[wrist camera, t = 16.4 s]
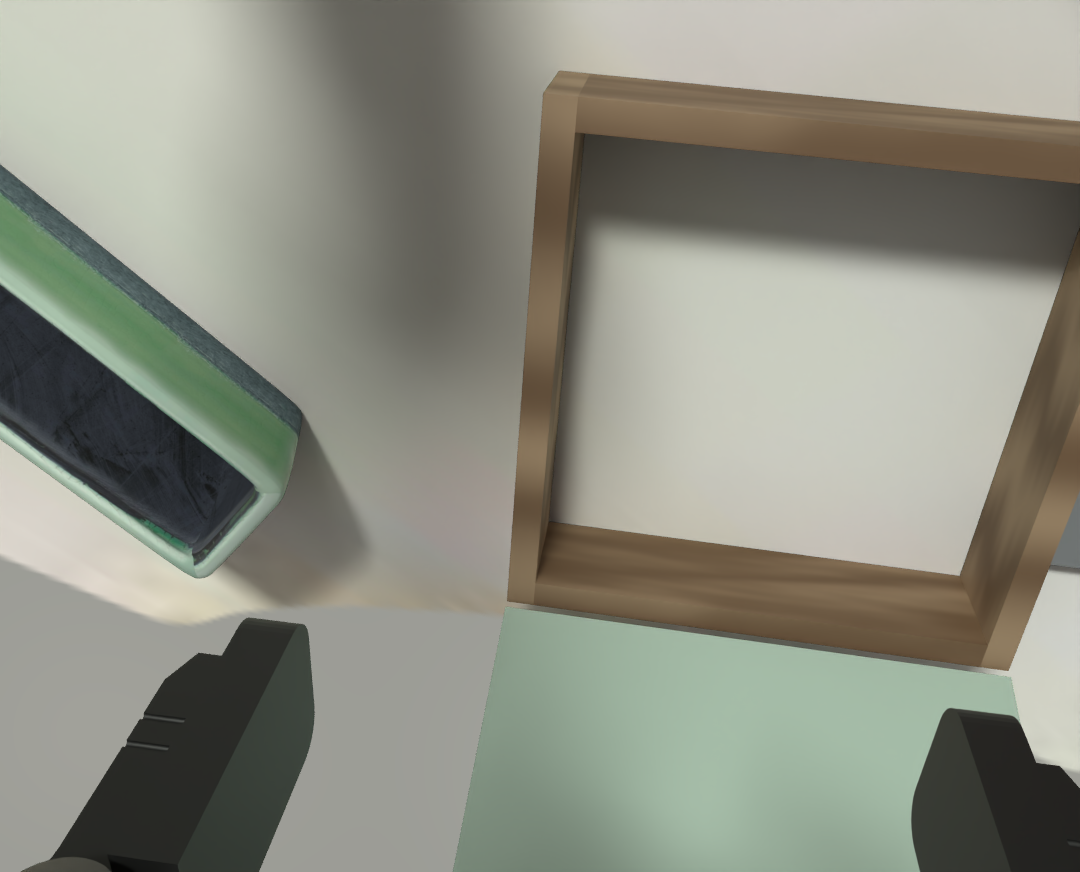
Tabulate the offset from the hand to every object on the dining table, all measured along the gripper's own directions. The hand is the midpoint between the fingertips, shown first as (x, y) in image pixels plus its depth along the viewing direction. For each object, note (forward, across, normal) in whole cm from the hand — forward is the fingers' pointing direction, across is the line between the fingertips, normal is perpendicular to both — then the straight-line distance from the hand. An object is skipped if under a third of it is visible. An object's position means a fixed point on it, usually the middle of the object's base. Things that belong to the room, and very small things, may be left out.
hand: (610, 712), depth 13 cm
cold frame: (+31, -7, +9) cm, 33 cm away
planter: (+31, +26, +8) cm, 42 cm away
